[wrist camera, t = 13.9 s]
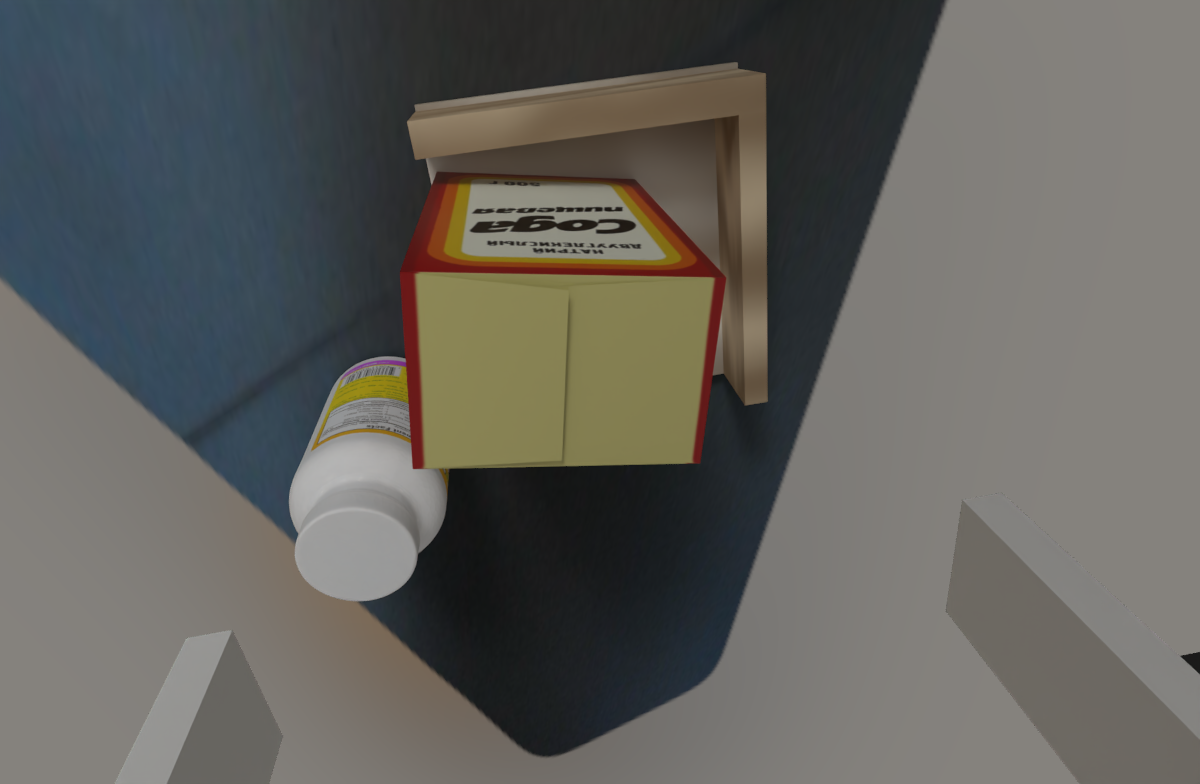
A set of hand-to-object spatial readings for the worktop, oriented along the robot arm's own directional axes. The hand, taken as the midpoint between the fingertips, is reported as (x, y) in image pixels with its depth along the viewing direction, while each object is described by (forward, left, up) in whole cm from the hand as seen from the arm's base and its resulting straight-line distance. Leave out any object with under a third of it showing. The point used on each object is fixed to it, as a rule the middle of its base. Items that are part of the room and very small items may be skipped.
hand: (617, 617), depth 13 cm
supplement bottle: (+8, -9, -27) cm, 29 cm away
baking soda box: (0, 0, -26) cm, 26 cm away
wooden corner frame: (+1, +2, -27) cm, 27 cm away
